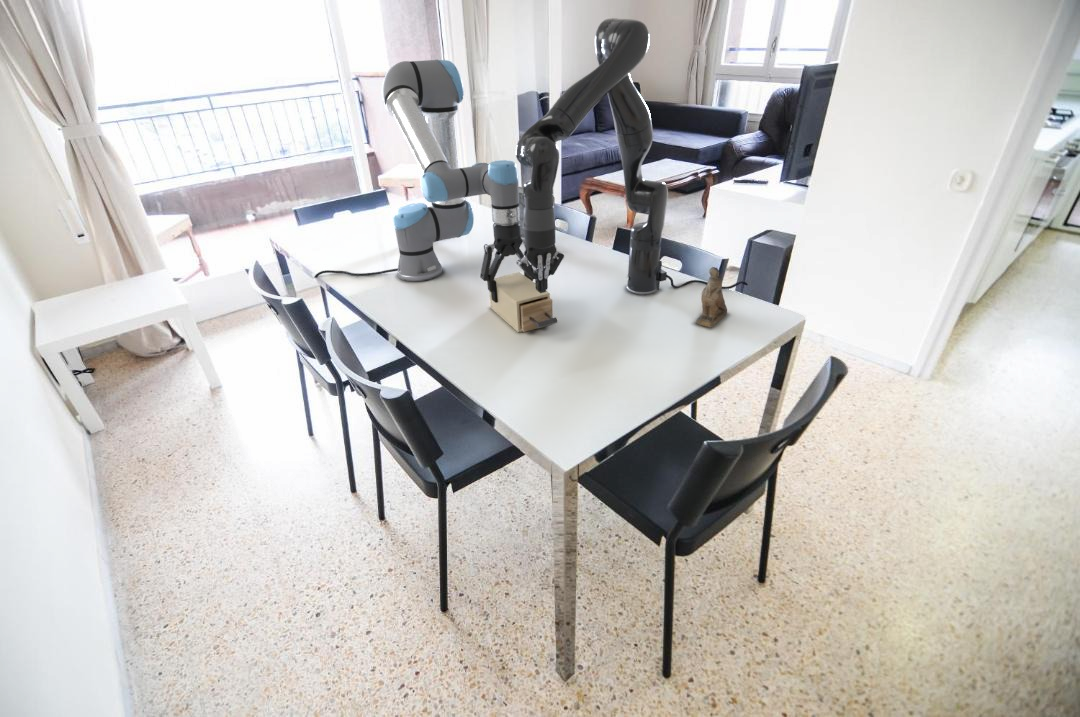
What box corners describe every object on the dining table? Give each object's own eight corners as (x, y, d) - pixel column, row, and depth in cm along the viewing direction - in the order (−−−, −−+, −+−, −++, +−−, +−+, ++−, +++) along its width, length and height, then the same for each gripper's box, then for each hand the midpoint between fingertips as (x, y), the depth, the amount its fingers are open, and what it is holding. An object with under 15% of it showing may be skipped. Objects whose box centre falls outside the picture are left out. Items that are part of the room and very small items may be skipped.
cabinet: (550, 323, 141) (549, 293, 136) (518, 332, 137) (516, 301, 132) (521, 300, 154) (519, 272, 150) (490, 308, 150) (488, 279, 145)
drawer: (563, 331, 134) (562, 307, 130) (533, 340, 130) (532, 315, 127) (524, 301, 151) (522, 278, 147) (497, 308, 148) (494, 285, 144)
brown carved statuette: (709, 335, 136) (713, 280, 124) (691, 329, 139) (693, 274, 128) (730, 313, 142) (736, 258, 130) (712, 307, 145) (716, 253, 133)
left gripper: (473, 233, 128) (481, 310, 139) (549, 218, 137) (551, 292, 149) (462, 226, 133) (471, 301, 145) (536, 212, 143) (539, 283, 154)
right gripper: (522, 234, 114) (526, 302, 123) (571, 224, 119) (571, 290, 128) (507, 226, 119) (512, 292, 128) (555, 217, 125) (556, 281, 134)
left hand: (511, 296), depth 147 cm, fingers closed on cabinet, 10 cm apart
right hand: (541, 291), depth 128 cm, fingers closed
